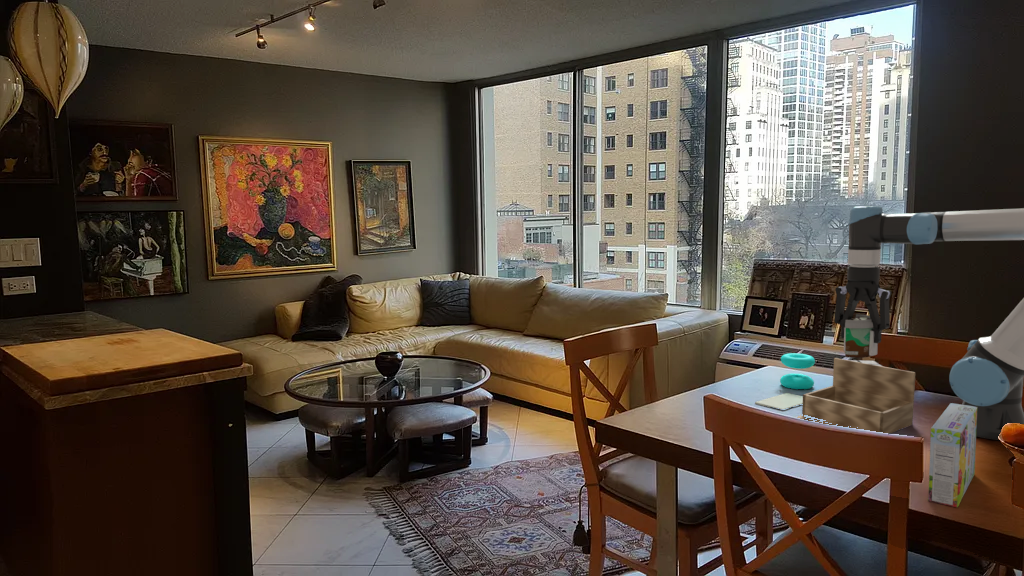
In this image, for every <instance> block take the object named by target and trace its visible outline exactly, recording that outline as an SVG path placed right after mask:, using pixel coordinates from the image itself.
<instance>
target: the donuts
mask: <svg viewBox="0 0 1024 576" xmlns="http://www.w3.org/2000/svg"><path fill="white" fill-rule="evenodd" d="M780 362H781V363H782V365H784V366H785V367H787V368H790V369H800V370H803V369H809V368H812V367H813V366H814V365H815V363H816V359H815V358H814V357H813V356H812V355H809V354H806V353H797V352H796V353H795V352H793V353H792V352H789V353H784V354H783V355H781V357H780ZM779 382H780V385H782V386H783V387H785V388H788V389H790V388H791V389H792V390H798V389H804V390H809V389H812V388H813V387H814V384H815V381H814V379H813V378H812V377H810V376H809V375H806V374H803V373H787V374H784V375H782V376H781V377H780V379H779ZM791 389H790V390H791Z"/></svg>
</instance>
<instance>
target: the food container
mask: <svg viewBox="0 0 1024 576" xmlns="http://www.w3.org/2000/svg"><path fill="white" fill-rule="evenodd" d="M845 328H846V331H845V351H844V352H845V358H852V359H853V358H855V359H856V358H858V359H861V358H862V359H863V358H869V357H871V356H870V355H869V344H870V331H871V330H872V329H873V322H872V321H871V319H870V315H869V314H868V315H867V314H859V313H856V314H855V318H852V319H851V320H846V322H845Z"/></svg>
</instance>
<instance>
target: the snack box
mask: <svg viewBox="0 0 1024 576" xmlns="http://www.w3.org/2000/svg"><path fill="white" fill-rule="evenodd" d="M976 425H977V407H974V406H968V405H962V404H959V403H955V402H954V403H953V402H952V403H951V402H950V403H949V405H948V406H947V407H946V409H945V410H944V411H943V412H942V414H941V415H940V416H939V417H938V419H936V421H935V422H934V424H933V425H932V426H931V427H930V441H929V442H930V444H929V470H928V471H929V473H928V492H927V493H928V495H927V502H931V503H935V504H940V505H945V506H949V507H953V508H959V506H960V503H961V502H962V499H963V498H964V496H965V493H966V492H967V490H968V488H969V486H970V483H971V482H972V480H973V478H974V476H975V475H976V447H977V446H976V445H977V444H976V443H977V436H976Z"/></svg>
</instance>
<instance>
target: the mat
mask: <svg viewBox="0 0 1024 576" xmlns="http://www.w3.org/2000/svg"><path fill="white" fill-rule="evenodd" d="M754 404H755V405H759V406H763V407H766V406H767V408H770V407H774V408H779V409H786V408H790V407H793V406H796V405H800V404H803V395H797V394H793V393H789V392H785V393H780V394H779V395H778V394H777V395H774V396H771V397H768V398H765V399H764V398H763V399H760V400H758V401H755V402H754Z"/></svg>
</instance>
